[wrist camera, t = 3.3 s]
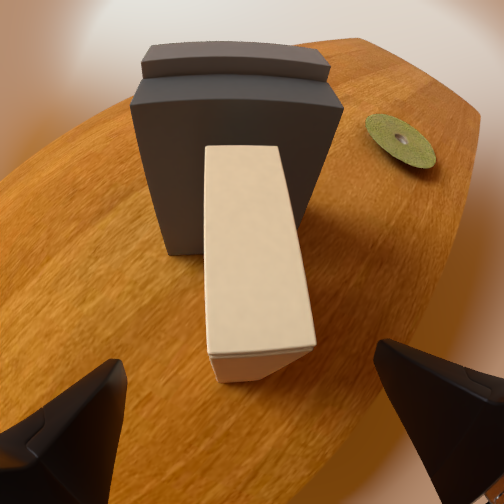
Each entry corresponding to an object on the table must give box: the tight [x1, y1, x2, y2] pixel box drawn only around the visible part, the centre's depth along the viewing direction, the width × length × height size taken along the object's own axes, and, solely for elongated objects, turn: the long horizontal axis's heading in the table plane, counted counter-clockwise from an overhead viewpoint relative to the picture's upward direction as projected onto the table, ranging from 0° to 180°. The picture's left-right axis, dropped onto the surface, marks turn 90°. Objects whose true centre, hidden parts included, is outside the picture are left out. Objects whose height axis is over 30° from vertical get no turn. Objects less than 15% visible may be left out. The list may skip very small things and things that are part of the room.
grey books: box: [130, 41, 344, 255], centre depth 18 cm, size 6×10×15 cm, turn 95°
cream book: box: [204, 145, 317, 383], centre depth 15 cm, size 8×3×13 cm, turn 5°
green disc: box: [365, 114, 436, 168], centre depth 33 cm, size 11×11×2 cm
